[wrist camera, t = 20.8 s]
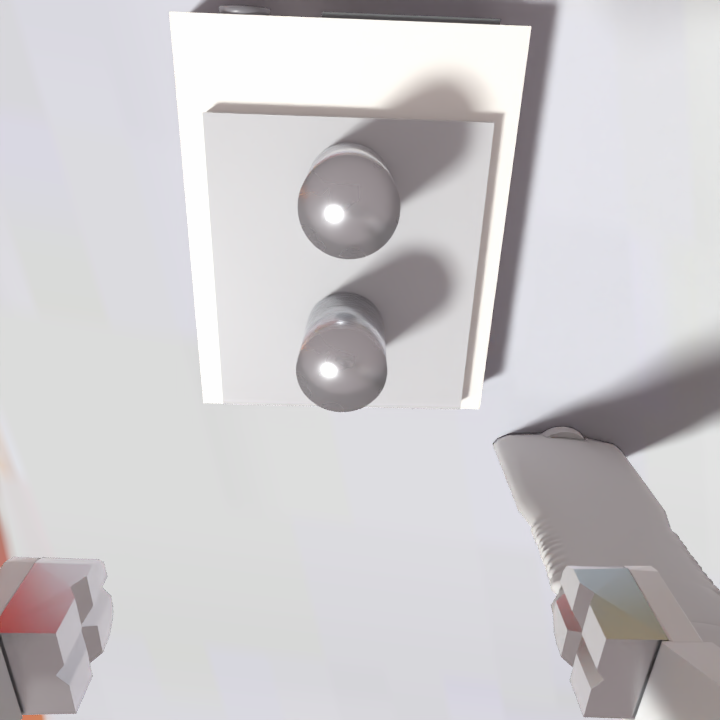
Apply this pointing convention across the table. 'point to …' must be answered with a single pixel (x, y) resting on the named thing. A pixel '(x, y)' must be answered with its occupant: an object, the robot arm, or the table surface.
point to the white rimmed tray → (292, 163)
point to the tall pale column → (600, 517)
